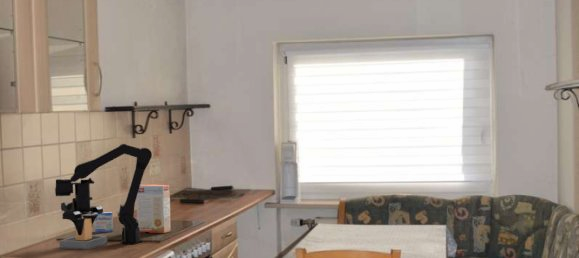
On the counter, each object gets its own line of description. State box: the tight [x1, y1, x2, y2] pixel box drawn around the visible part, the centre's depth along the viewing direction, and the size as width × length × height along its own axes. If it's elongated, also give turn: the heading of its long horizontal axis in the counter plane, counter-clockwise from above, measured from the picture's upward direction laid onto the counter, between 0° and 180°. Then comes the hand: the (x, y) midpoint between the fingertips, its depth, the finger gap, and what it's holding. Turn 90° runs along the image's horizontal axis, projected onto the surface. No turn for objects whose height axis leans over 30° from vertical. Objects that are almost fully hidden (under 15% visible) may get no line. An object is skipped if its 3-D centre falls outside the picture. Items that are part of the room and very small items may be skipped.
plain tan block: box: [74, 218, 93, 240], centre depth 284 cm, size 4×4×8 cm
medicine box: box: [93, 211, 114, 234], centre depth 318 cm, size 8×4×9 cm, turn 106°
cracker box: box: [136, 184, 172, 234], centre depth 314 cm, size 14×6×21 cm, turn 67°
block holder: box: [59, 235, 108, 251], centre depth 284 cm, size 13×13×3 cm
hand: (83, 234), depth 284 cm, fingers closed on plain tan block, 4 cm apart
